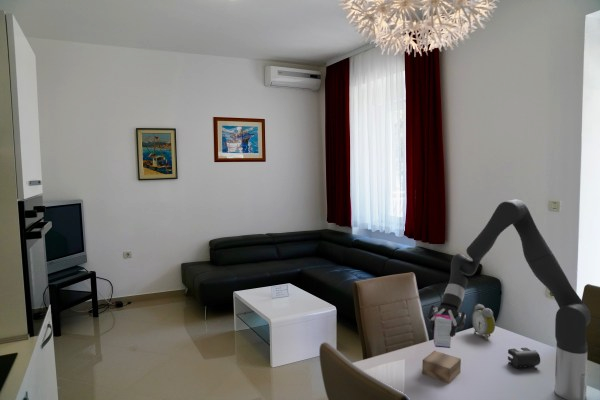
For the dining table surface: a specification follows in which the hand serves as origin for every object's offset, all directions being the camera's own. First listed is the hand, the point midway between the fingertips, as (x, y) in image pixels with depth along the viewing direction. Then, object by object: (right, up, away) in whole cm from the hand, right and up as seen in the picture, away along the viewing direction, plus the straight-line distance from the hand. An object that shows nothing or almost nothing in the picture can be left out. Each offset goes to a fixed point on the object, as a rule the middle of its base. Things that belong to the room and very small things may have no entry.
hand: (441, 333), depth 161 cm
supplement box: (+1, -5, +2) cm, 6 cm away
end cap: (+37, -16, +8) cm, 41 cm away
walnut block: (+1, -17, +2) cm, 17 cm away
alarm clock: (+34, -14, +38) cm, 53 cm away
